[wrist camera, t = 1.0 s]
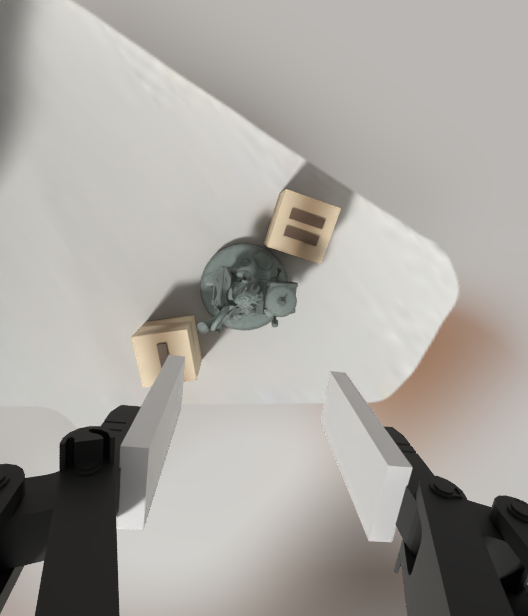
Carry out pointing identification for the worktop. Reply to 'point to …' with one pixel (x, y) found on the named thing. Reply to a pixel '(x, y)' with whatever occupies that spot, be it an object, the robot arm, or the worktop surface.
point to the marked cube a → (167, 347)
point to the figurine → (245, 289)
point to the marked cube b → (301, 226)
